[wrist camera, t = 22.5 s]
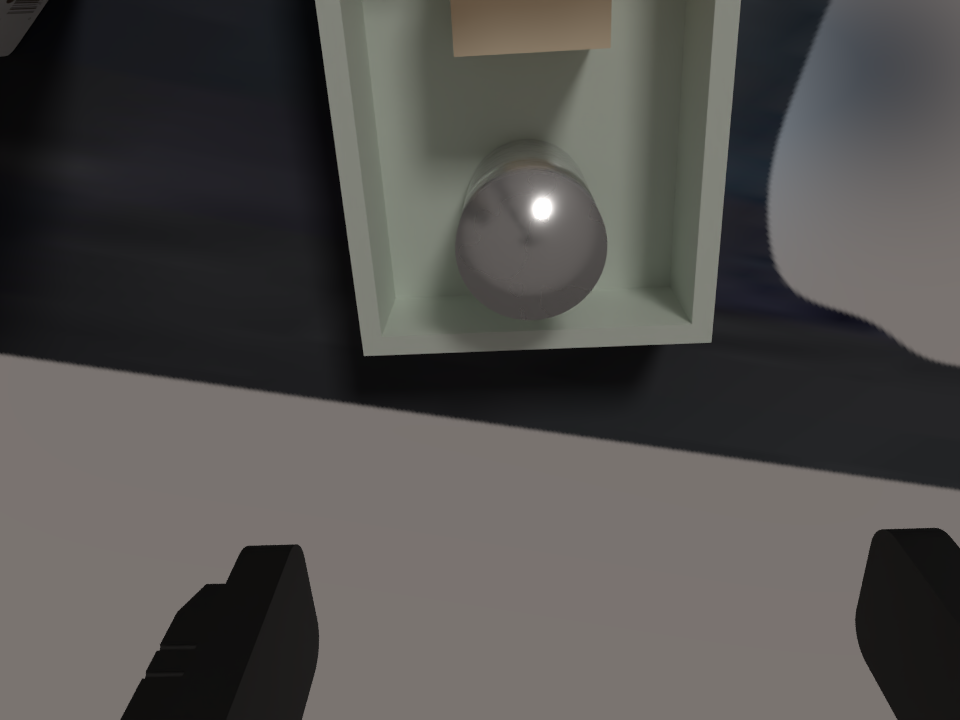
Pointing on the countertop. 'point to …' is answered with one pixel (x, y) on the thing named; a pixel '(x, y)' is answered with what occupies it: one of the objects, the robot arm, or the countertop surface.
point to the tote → (542, 116)
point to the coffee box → (16, 21)
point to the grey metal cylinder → (530, 232)
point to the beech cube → (529, 26)
